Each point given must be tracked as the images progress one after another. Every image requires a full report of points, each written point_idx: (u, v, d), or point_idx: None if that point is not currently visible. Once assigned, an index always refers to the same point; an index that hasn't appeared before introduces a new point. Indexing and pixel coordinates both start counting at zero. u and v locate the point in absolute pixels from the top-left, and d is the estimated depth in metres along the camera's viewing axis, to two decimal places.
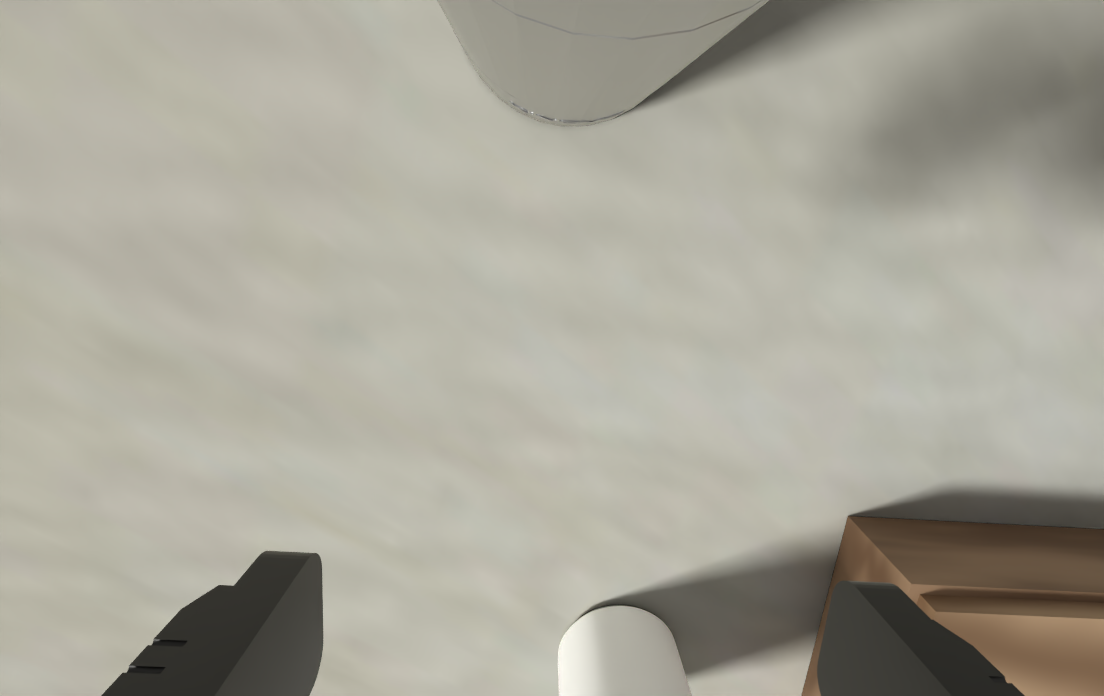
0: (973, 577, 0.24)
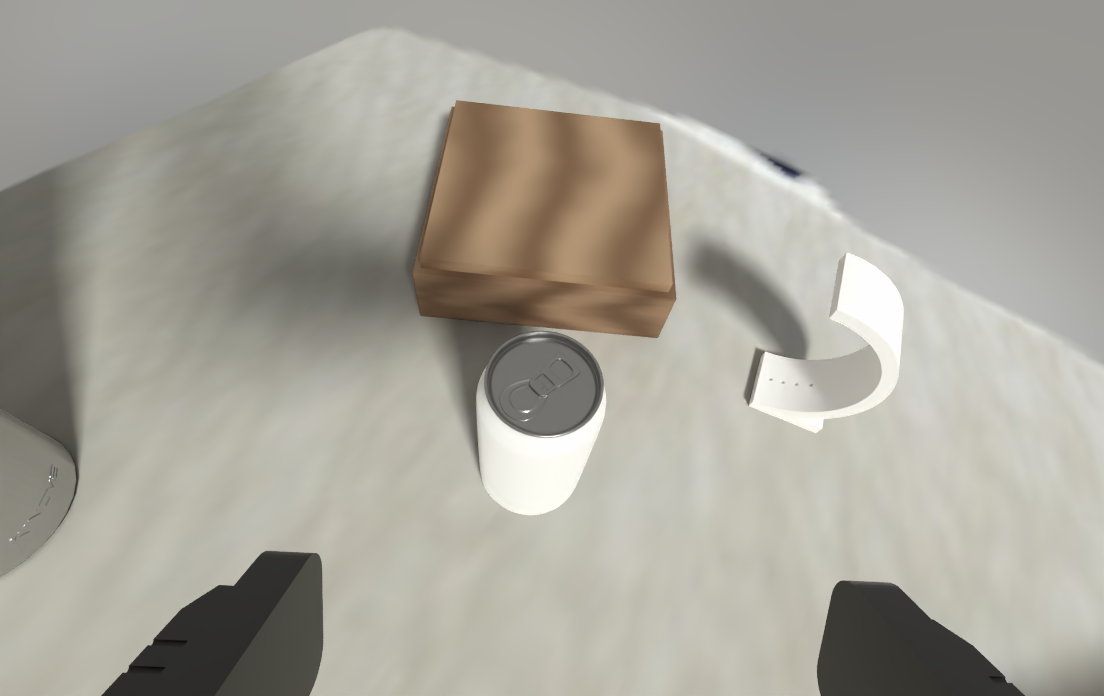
0: None
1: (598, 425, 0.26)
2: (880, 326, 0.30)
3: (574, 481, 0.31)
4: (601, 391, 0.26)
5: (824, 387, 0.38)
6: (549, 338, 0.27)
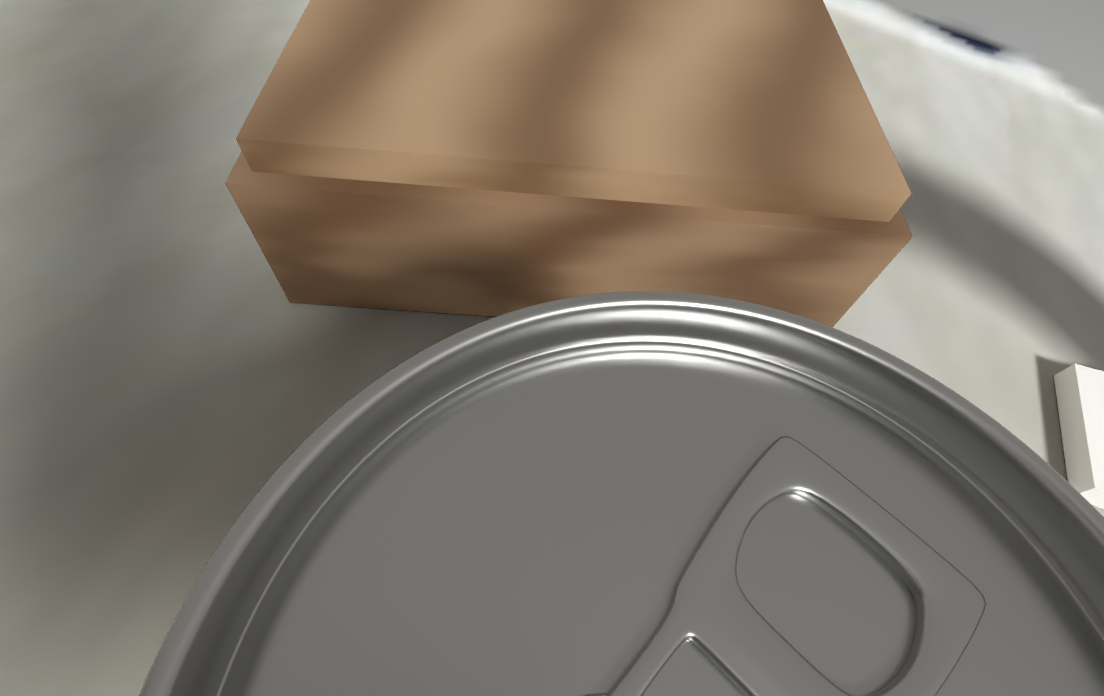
0: None
1: None
2: None
3: None
4: None
5: None
6: (685, 340, 0.04)
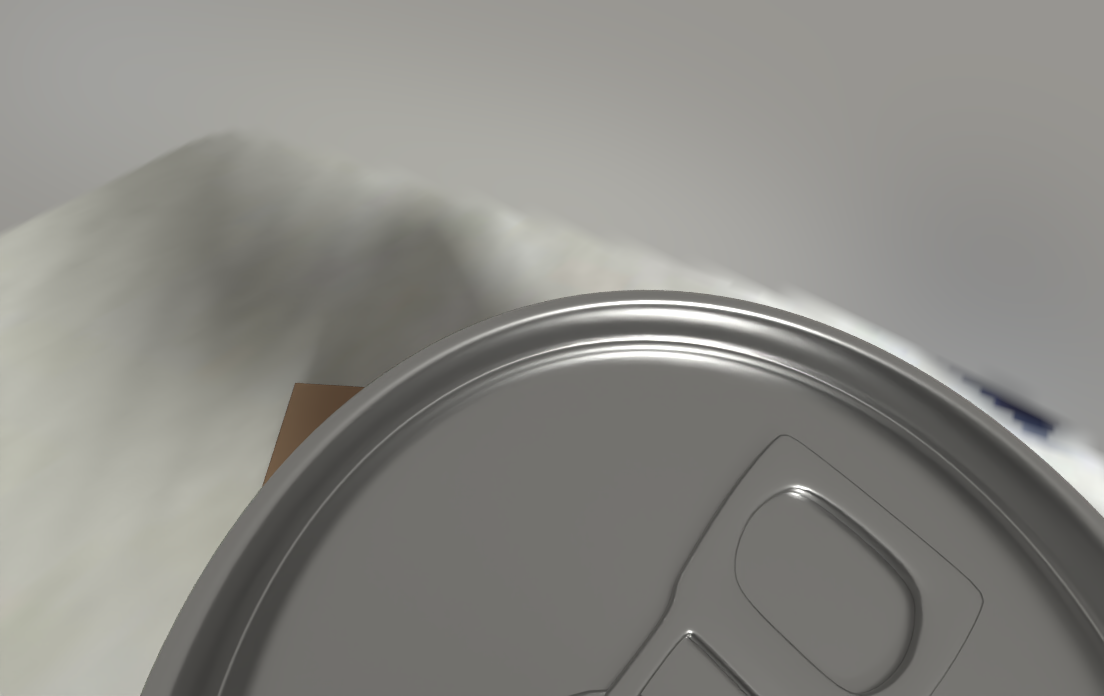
0: None
1: None
2: None
3: None
4: None
5: None
6: (684, 339, 0.04)
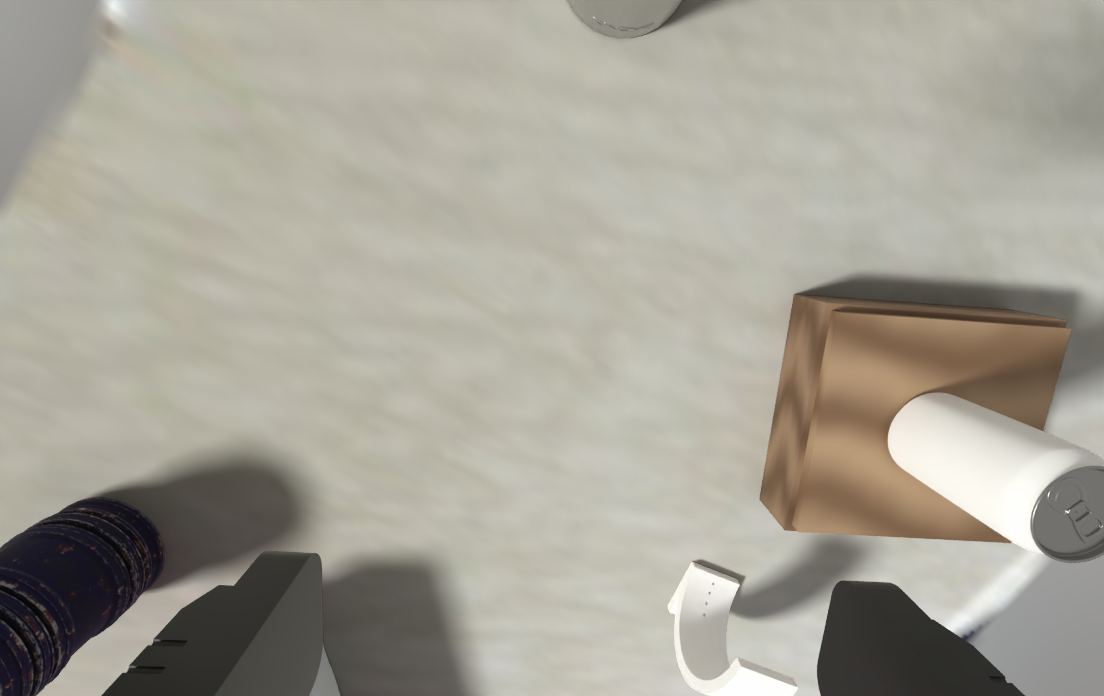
0: (864, 304, 0.40)
1: (1023, 547, 0.31)
2: (727, 691, 0.39)
3: (932, 487, 0.37)
4: (1065, 561, 0.30)
5: (700, 625, 0.48)
6: None
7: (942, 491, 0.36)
